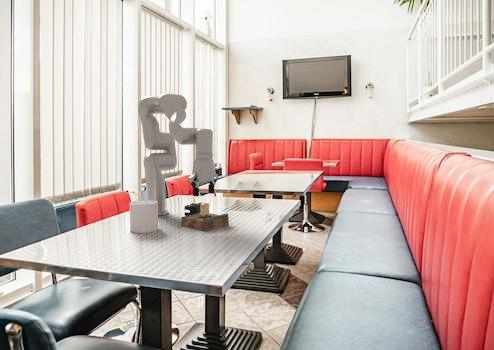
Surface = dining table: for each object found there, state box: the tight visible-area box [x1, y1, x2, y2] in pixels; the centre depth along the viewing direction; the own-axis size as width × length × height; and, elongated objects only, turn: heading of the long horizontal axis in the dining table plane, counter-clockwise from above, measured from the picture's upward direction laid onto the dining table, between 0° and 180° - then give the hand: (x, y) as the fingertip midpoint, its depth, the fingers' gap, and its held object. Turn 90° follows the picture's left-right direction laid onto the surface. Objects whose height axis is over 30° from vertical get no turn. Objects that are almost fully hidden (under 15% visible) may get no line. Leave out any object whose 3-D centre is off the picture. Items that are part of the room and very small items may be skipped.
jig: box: [180, 212, 230, 232], centre depth 173 cm, size 16×14×5 cm
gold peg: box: [200, 202, 210, 219], centre depth 172 cm, size 4×4×10 cm
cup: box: [129, 199, 159, 234], centre depth 165 cm, size 12×12×12 cm
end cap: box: [184, 202, 202, 216], centre depth 191 cm, size 10×7×7 cm
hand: (203, 194), depth 172 cm, fingers open, 9 cm apart
